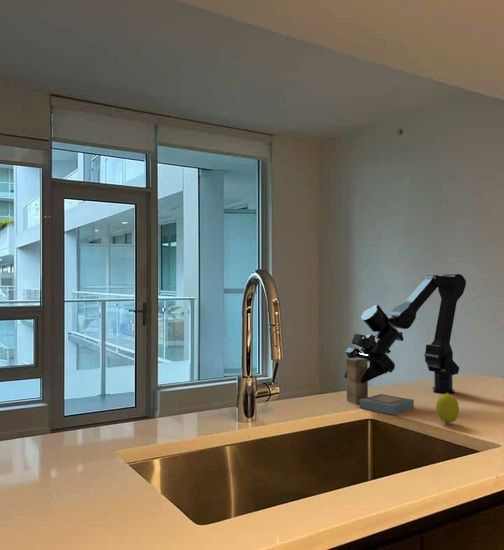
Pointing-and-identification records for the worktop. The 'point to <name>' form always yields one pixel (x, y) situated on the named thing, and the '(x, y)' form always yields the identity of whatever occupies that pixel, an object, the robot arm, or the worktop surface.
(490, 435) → the worktop surface
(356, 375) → the pillar
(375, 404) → the plate
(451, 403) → the lemon
